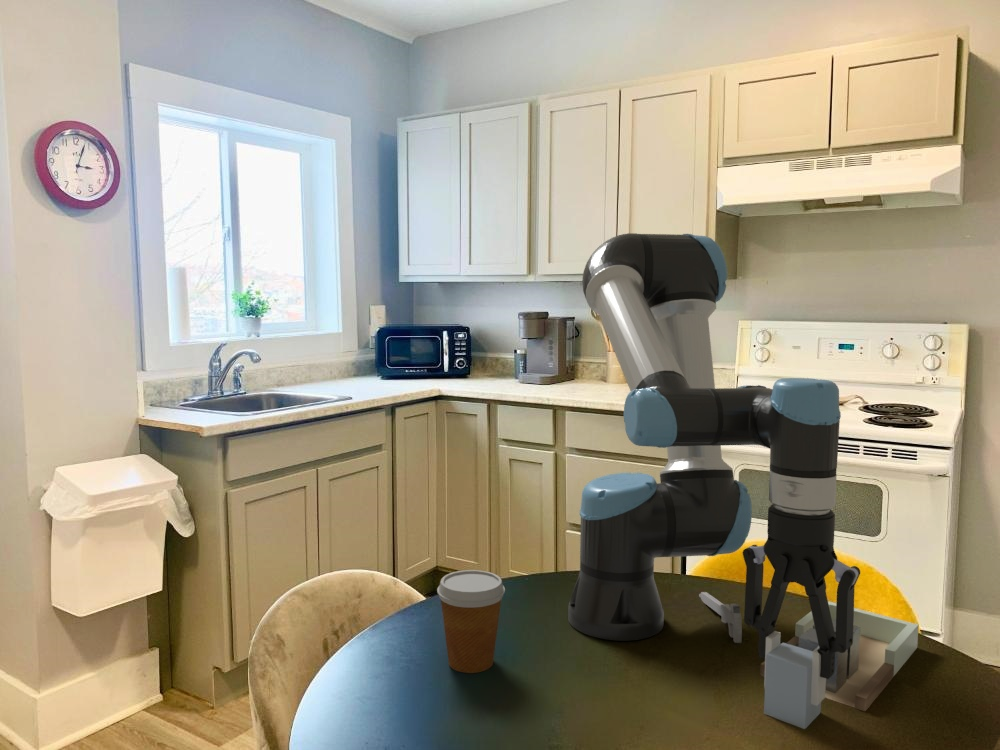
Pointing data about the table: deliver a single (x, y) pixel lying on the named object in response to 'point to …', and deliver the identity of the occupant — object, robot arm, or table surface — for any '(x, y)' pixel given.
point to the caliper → (726, 615)
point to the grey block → (790, 685)
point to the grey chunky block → (851, 650)
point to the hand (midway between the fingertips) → (794, 692)
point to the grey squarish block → (840, 672)
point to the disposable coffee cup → (470, 618)
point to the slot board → (861, 675)
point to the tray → (877, 633)
